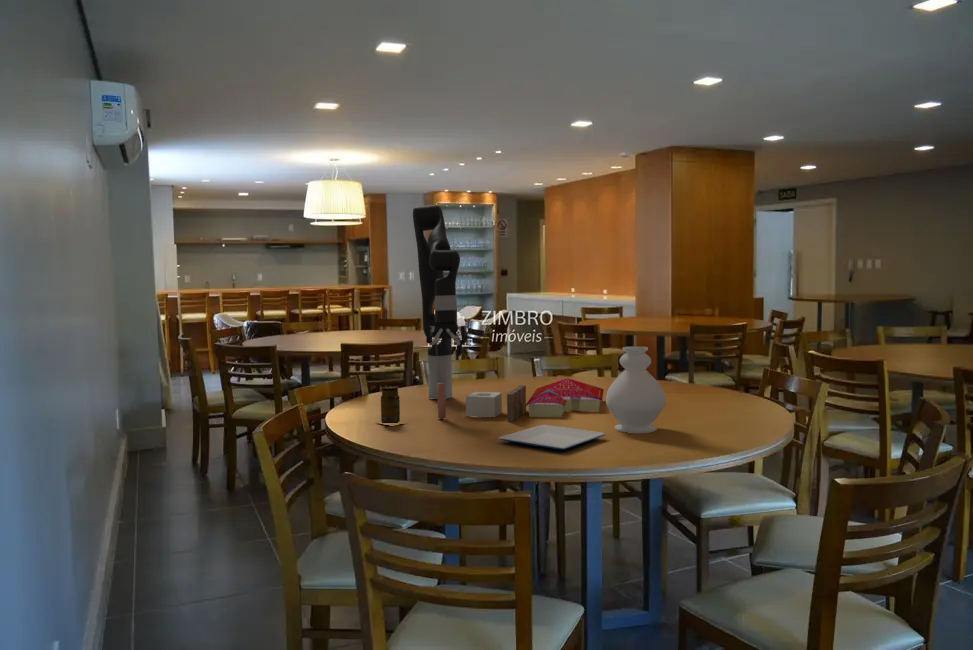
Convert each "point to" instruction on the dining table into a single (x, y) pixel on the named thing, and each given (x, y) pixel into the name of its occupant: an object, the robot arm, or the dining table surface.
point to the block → (484, 404)
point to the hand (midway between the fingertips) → (447, 355)
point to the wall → (516, 403)
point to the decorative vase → (635, 394)
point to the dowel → (441, 401)
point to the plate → (552, 436)
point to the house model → (564, 398)
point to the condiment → (390, 405)
